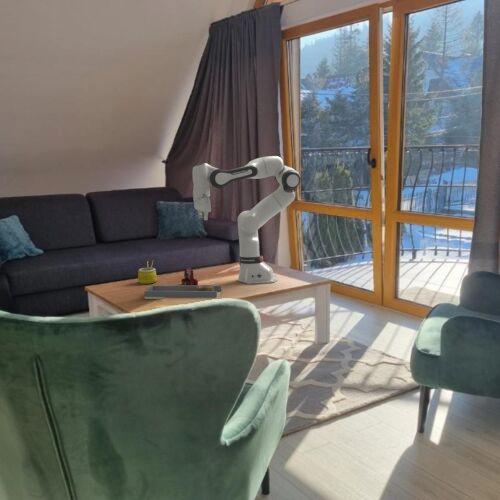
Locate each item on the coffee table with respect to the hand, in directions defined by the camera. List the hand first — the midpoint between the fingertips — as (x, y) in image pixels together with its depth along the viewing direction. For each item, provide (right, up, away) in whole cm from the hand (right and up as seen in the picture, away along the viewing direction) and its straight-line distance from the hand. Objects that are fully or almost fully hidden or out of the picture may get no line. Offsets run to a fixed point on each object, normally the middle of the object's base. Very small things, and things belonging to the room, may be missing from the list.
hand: (203, 219), depth 311 cm
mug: (-33, -36, +19) cm, 52 cm away
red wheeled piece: (-8, -37, +7) cm, 38 cm away
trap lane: (-9, -41, -14) cm, 44 cm away
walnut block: (+3, -39, -16) cm, 43 cm away
